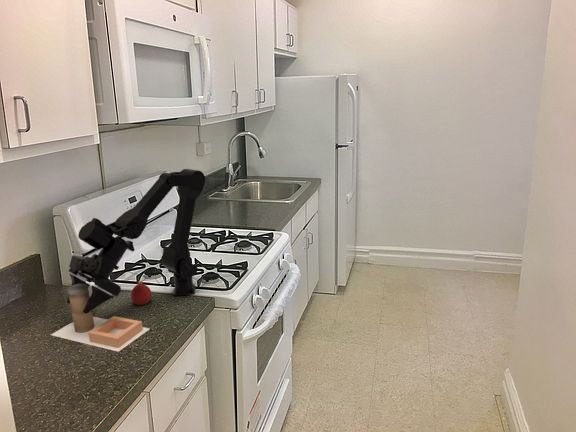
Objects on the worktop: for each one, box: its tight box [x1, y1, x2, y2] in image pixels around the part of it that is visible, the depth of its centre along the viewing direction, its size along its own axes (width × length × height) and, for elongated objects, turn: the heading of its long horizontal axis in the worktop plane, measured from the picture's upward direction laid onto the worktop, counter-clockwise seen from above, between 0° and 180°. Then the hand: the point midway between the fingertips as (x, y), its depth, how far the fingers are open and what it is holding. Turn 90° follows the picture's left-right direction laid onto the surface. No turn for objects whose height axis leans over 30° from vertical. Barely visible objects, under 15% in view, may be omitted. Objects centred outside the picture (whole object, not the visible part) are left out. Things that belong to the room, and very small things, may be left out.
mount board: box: [50, 316, 150, 353], centre depth 131 cm, size 23×12×1 cm, turn 66°
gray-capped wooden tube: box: [67, 284, 94, 333], centre depth 131 cm, size 5×5×12 cm
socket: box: [88, 315, 144, 348], centre depth 128 cm, size 9×9×2 cm
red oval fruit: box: [130, 280, 152, 306], centre depth 147 cm, size 6×6×8 cm
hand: (76, 308), depth 130 cm, fingers open, 9 cm apart
